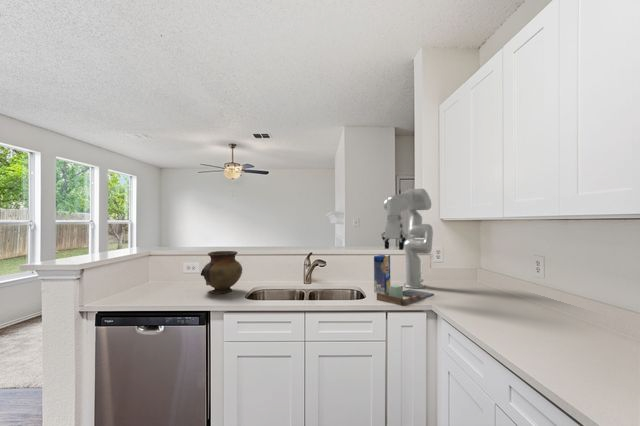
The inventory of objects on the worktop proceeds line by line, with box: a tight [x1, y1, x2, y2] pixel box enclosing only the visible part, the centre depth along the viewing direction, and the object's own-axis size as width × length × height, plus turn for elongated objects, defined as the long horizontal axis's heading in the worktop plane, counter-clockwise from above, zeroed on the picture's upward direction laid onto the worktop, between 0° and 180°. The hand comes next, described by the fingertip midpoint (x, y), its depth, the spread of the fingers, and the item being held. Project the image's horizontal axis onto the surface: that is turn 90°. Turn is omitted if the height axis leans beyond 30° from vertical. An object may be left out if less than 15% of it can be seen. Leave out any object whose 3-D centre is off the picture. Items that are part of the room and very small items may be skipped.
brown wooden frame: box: [376, 291, 422, 306], centre depth 169 cm, size 19×16×4 cm
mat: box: [403, 288, 435, 300], centre depth 181 cm, size 14×16×1 cm
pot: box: [200, 250, 243, 295], centre depth 189 cm, size 25×24×25 cm
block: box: [388, 284, 404, 299], centre depth 167 cm, size 6×5×8 cm
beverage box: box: [373, 254, 391, 294], centre depth 190 cm, size 7×11×22 cm, turn 150°
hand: (393, 249), depth 172 cm, fingers open, 9 cm apart
